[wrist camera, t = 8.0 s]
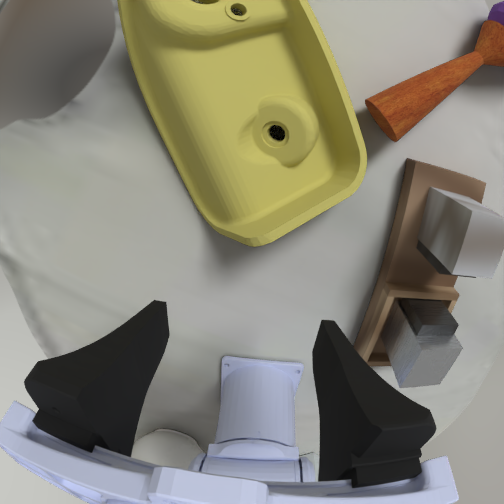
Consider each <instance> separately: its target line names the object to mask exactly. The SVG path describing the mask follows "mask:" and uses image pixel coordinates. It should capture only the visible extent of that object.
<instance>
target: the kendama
mask: <svg viewBox="0 0 504 504" xmlns="http://www.w3.org/2000/svg"><path fill="white" fill-rule="evenodd" d="M482 64H484V65H494V66H502V67H504V1H503V2H499V3H497V4H495V5H493V7H492V9H491V11H490V13H489V16H488V20H487V21H485V22H484V23H483V25H482V28H481V31H480V34H479V37H478V40H477V43H476V46H475V49H474V52H472V53H469V54H466V55H464V56H461V57H459V58H456V59H454V60H451V61H449V62H446V63H444V64H441V65H439V66H437V67H434V68H432V69H430V70H427V71H425V72H423V73H421V74H418V75H416V76H414V77H412V78H410V79H407V80H405V81H403V82H401V83H399V84H397V85H395V86H393V87H390V88H388V89H386V90H384V91H382V92H380V93H378V94H376V95H374V96H372V97H370V98H368V99H366V100H365V104H366V106H367V108H368V110H369V112H370V114H371V115H372V117H373V118H374V120H375V121H376V123H377V124H378V125H379V127H380V128H381V129H382V130H383V132H384V133H385V134H386V135H387V136H388V137H389V138H390V139H391V140H392V141H394V142H397V141H398V140H399V139H400V138H401V137H402V136H404V135H405V134H406V133H407V132H408V131H409V130H410V129H411V128H413V127H414V126H415V125H416V124H417V123H418V122H419V121H420V120H422V119H423V118H424V117H425V116H426V115H427V114H428V113H429V112H430V111H432V110H433V109H434V108H435V107H436V106H437V105H438V104H439V103H441V102H442V101H443V100H444V99H445V98H446V97H447V96H448V95H449V94H451V93H452V92H453V91H454V90H455V89H456V88H457V87H458V86H459V85H460V84H462V83H463V82H464V81H465V80H466V79H467V78H468V77H469V76H470V75H472V74H473V73H474V72H475V71H476V70H477V69H478V68H479V67H480V66H481V65H482Z"/></svg>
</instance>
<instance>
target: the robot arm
mask: <svg viewBox="0 0 504 504" xmlns="http://www.w3.org/2000/svg"><path fill="white" fill-rule="evenodd" d="M168 338H169V326H168V316H167V305H166V302H162V301H156V300H154V301H153V302H151V303H150V304H149V305H147V306H146V307H145V308H144V309H142V310H141V311H140V312H139V313H137V314H136V315H135V316H134V317H132V318H131V319H130V320H128V321H127V322H126V323H124V324H123V325H121V326H120V327H118V328H117V329H116V330H114V331H113V332H111V333H110V334H108V335H106V336H105V337H103V338H101V339H99V340H98V341H96V342H94V343H92V344H90V345H87V346H85V347H83V348H81V349H79V350H76V351H74V352H71V353H68V354H65V355H62V356H59V357H55V358H51V359H47V360H42V361H38V362H37V363H36V365H35V366H34V368H33V369H32V371H31V372H30V373H29V375H28V376H27V377H26V379H25V381H24V383H25V388H26V390H27V392H28V393H29V395H30V396H31V398H32V399H33V401H34V402H35V404H36V405H37V407H38V408H39V410H38V412H37V413H35V412H34V411H33V410H31V409H29V408H28V407H26V406H24V405H22V404H20V403H19V402H17V401H14V402H13V403H12V405H11V406H10V408H9V409H8V411H7V413H6V414H5V416H4V417H3V419H2V421H1V422H0V447H1V448H2V449H3V450H5V452H6V453H7V454H9V455H10V456H11V457H12V458H13V459H14V460H15V461H16V462H17V463H19V464H20V465H22V466H23V467H25V468H26V469H28V470H29V471H31V472H33V473H34V474H36V475H38V476H39V477H41V478H43V479H44V480H46V481H48V482H49V483H51V484H53V485H55V486H56V487H58V488H60V489H62V490H64V491H66V492H68V493H69V494H71V495H73V496H75V497H77V498H79V499H81V500H83V501H85V502H87V503H90V504H452V503H454V502H456V501H458V499H459V497H458V493H457V489H456V486H455V482H454V478H453V475H452V471H451V467H450V464H449V461H448V458H447V456H441V457H438V458H434V459H430V460H426V461H424V462H422V463H420V461H419V457H421V455H422V453H421V450H420V448H421V447H422V446H423V445H424V444H425V443H426V442H427V441H428V440H429V439H430V438H431V437H432V436H433V435H434V433H435V431H436V425H435V422H434V419H433V417H432V414H431V412H430V410H429V409H427V408H425V407H423V406H421V405H419V404H417V403H416V402H414V401H412V400H410V399H409V398H407V397H406V396H404V395H403V394H401V393H400V392H398V391H397V390H396V389H394V388H393V387H392V386H391V385H389V384H388V383H387V382H386V381H385V380H383V379H382V378H381V377H380V376H379V375H378V374H377V373H376V372H375V371H374V370H373V369H372V368H371V367H370V366H369V365H368V364H367V363H366V362H365V361H364V359H363V358H362V357H361V356H360V355H359V354H358V352H357V351H356V350H355V348H354V347H353V346H352V345H351V343H350V342H349V341H348V339H347V338H346V336H345V335H344V334H343V332H342V331H341V329H340V328H339V326H338V325H337V324H336V322H335V321H332V320H322V321H321V324H320V328H319V331H318V334H317V338H316V341H315V345H314V348H313V351H312V355H313V374H314V380H315V387H316V393H317V399H318V406H319V415H320V457H319V473H318V482H316V481H315V470H314V465H313V463H312V462H311V461H309V460H308V458H307V457H300V458H299V448H298V447H296V440H295V405H294V397H295V394H296V391H297V388H298V385H299V382H300V379H301V376H302V372H303V369H304V365H303V364H302V363H295V362H281V361H269V360H259V359H249V358H240V357H232V356H224V357H223V358H222V368H221V408H220V413H219V419H218V425H217V430H216V436H215V442H214V444H209V446H208V451H207V454H206V453H200V454H198V455H197V457H195V458H194V459H193V460H192V461H191V463H190V465H189V467H188V469H183V468H178V467H171V466H160V465H156V464H153V463H149V462H145V461H142V460H138V459H135V458H131V455H132V449H133V443H134V438H135V434H136V429H137V425H138V421H139V417H140V413H141V409H142V406H143V403H144V399H145V396H146V393H147V390H148V388H149V385H150V383H151V381H152V379H153V377H154V374H155V372H156V370H157V368H158V365H159V363H160V361H161V359H162V356H163V354H164V352H165V348H166V345H167V342H168ZM226 363H227V364H226ZM297 370H299V371H297Z"/></svg>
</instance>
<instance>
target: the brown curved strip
mask: <svg viewBox="0 0 504 504" xmlns="http://www.w3.org/2000/svg"><path fill="white" fill-rule="evenodd" d="M200 453H204V452H203V451H202V449H201V448H200V447H199V446H198V443H197V441H196V440H195V439H193V438H192V437H190V436H189V435H186V434H184V433H182V432H179V431H175V430H171V429H157V430H155V431H154V432H153V433H149V434H147V435H144V436H143V437H141V438H140V439H139V440H137V441H136V442H135V444H134V445H133V449H132V455H131V458H135V459H138V460H142V461H145V462H149V463H153V464H156V465H160V466H171V467H178V468H183V469H188V467H189V465H190V463H191V461H192V460H193V459H194V458H195V457H197V455H198V454H200Z"/></svg>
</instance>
